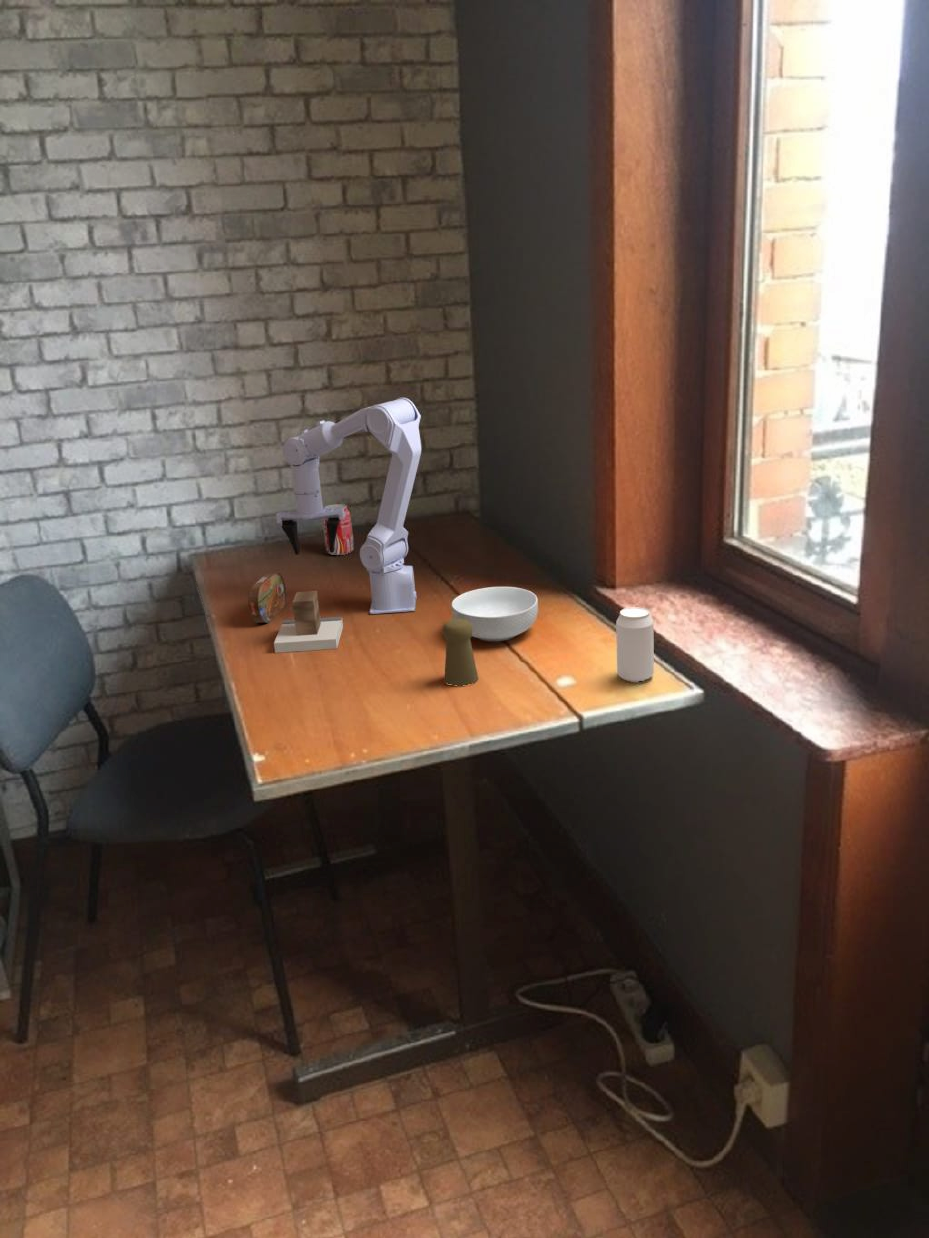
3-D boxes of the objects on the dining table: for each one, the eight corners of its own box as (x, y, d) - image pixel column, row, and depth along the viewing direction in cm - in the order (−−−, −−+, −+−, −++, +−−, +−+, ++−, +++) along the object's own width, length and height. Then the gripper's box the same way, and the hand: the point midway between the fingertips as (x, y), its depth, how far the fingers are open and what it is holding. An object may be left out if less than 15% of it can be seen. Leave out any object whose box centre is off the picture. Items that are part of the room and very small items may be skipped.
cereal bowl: (441, 628, 209) (439, 595, 207) (518, 613, 214) (516, 581, 212) (472, 657, 194) (469, 621, 192) (553, 640, 199) (552, 605, 197)
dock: (343, 626, 214) (341, 616, 213) (336, 648, 203) (335, 638, 202) (284, 630, 214) (283, 620, 213) (275, 652, 203) (273, 642, 202)
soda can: (324, 551, 267) (318, 505, 263) (351, 547, 269) (346, 502, 265) (329, 558, 261) (323, 512, 257) (357, 554, 262) (352, 508, 258)
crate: (321, 623, 211) (317, 590, 208) (317, 634, 205) (313, 600, 203) (300, 624, 211) (296, 592, 208) (296, 635, 205) (292, 602, 203)
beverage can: (626, 687, 177) (625, 620, 173) (611, 673, 182) (610, 609, 178) (660, 680, 178) (659, 614, 174) (644, 667, 184) (643, 603, 180)
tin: (263, 628, 216) (257, 590, 214) (249, 628, 217) (243, 590, 214) (289, 604, 230) (284, 567, 227) (275, 604, 231) (270, 567, 228)
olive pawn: (459, 670, 189) (454, 613, 185) (485, 677, 185) (481, 618, 181) (437, 682, 184) (432, 623, 180) (463, 689, 181) (459, 629, 177)
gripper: (270, 498, 221) (278, 559, 226) (338, 493, 220) (345, 555, 225) (276, 490, 228) (284, 550, 232) (343, 486, 227) (349, 546, 232)
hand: (315, 552), depth 229 cm, fingers open, 7 cm apart
